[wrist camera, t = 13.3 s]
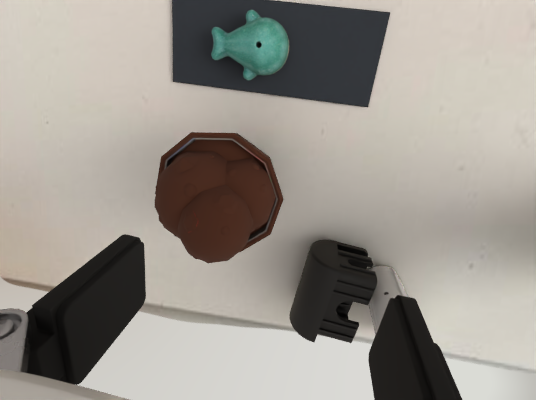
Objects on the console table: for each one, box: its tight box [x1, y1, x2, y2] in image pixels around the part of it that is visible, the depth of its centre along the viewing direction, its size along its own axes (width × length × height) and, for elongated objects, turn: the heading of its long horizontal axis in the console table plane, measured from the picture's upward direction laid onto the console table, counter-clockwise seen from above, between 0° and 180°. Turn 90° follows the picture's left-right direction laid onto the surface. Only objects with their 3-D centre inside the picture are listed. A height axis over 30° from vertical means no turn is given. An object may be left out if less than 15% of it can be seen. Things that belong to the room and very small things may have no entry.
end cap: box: [290, 240, 377, 343], centre depth 34 cm, size 10×7×7 cm
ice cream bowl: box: [155, 132, 283, 263], centre depth 27 cm, size 11×11×15 cm
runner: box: [172, 0, 390, 107], centre depth 29 cm, size 20×8×1 cm, turn 83°
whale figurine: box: [211, 10, 289, 80], centre depth 27 cm, size 6×7×4 cm
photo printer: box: [369, 266, 408, 334], centre depth 32 cm, size 10×4×12 cm, turn 27°
